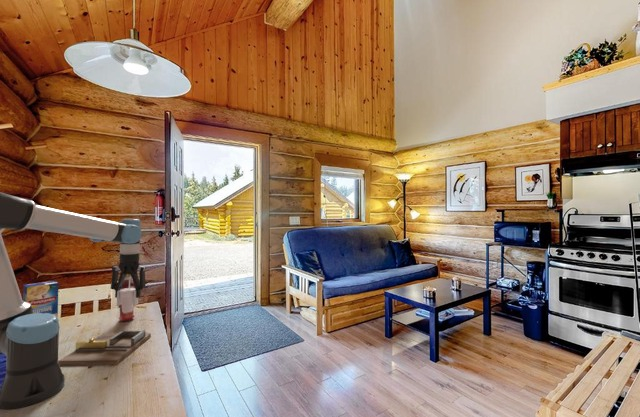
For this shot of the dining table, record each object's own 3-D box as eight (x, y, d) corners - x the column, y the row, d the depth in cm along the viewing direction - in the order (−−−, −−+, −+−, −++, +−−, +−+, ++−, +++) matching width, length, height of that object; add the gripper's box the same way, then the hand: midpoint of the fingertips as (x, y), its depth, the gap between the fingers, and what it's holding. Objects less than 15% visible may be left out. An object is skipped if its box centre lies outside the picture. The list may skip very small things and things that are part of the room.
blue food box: (57, 328, 141) (58, 282, 141) (25, 336, 132) (27, 287, 132) (53, 325, 145) (54, 280, 145) (21, 332, 136) (23, 285, 136)
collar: (134, 344, 122) (134, 338, 122) (109, 344, 121) (109, 338, 121) (145, 335, 131) (145, 330, 131) (122, 335, 130) (122, 330, 130)
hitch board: (116, 364, 109) (117, 358, 109) (58, 364, 108) (58, 359, 108) (150, 336, 133) (150, 332, 133) (102, 337, 132) (103, 332, 132)
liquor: (130, 316, 158) (131, 264, 158) (137, 319, 154) (138, 265, 155) (115, 320, 152) (116, 266, 152) (122, 323, 148) (123, 268, 148)
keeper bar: (104, 349, 117) (104, 339, 117) (75, 350, 116) (75, 340, 116) (107, 347, 119) (107, 337, 119) (78, 348, 118) (79, 338, 118)
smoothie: (127, 314, 127) (129, 281, 128) (114, 313, 128) (116, 280, 129) (139, 309, 133) (140, 278, 134) (126, 308, 134) (128, 278, 135)
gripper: (156, 252, 136) (153, 302, 135) (112, 251, 134) (110, 302, 134) (147, 254, 129) (145, 307, 128) (101, 253, 127) (99, 307, 126)
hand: (127, 304), depth 131 cm, fingers closed on smoothie, 6 cm apart
